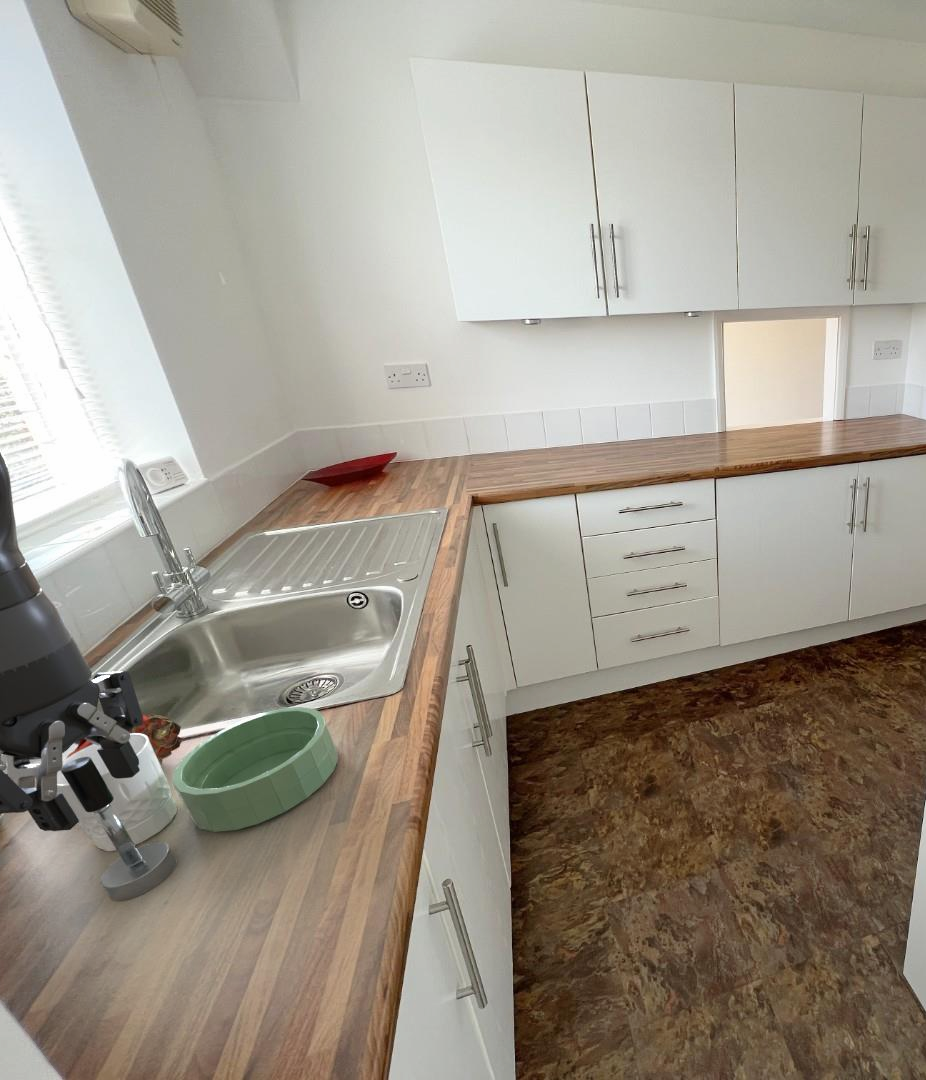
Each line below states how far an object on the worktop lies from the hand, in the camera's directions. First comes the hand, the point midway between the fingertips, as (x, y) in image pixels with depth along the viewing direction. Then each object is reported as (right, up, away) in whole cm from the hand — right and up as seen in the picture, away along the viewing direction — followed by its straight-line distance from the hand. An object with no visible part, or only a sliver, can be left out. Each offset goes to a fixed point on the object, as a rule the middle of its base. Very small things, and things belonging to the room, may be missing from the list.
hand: (97, 799), depth 56 cm
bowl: (+5, -5, +15) cm, 17 cm away
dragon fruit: (-15, -5, +18) cm, 24 cm away
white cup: (-6, -8, +10) cm, 14 cm away
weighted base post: (+1, -10, +4) cm, 11 cm away
